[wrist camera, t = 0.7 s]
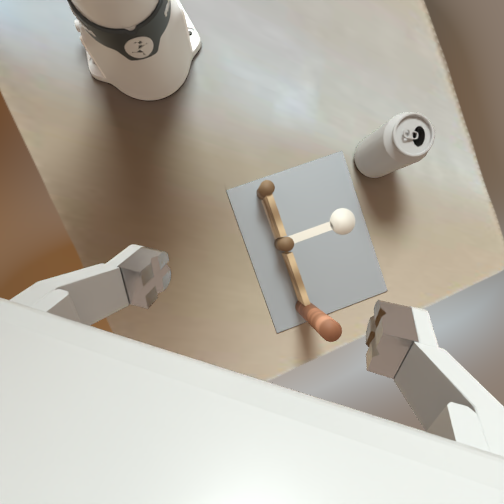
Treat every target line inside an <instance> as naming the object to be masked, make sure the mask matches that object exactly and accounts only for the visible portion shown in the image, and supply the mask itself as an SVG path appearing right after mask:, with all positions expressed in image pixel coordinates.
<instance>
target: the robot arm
mask: <svg viewBox="0 0 504 504" xmlns="http://www.w3.org/2000/svg"><path fill="white" fill-rule="evenodd" d="M67 1H68V3H69V6H70V8H71V10H72V12H73V14H74V15H75V16H76V18H77V19H78V20H75V21H74V23H75V26H76V29H77V30H78V32H81V36H80V40H81V42H82V44H83V45H84V47H85V48H86V54H87V60H88V65H89V70H90V72H91V74H92V76H93V77H94V78H96V79H98V80H100V81H104V82H107V83H111V84H112V85H114V86H115V87H117V88H118V89H119V90H120V91H122V92H123V93H125V94H126V95H128V96H131V97H133V98H136V99H140V100H158V99H162V98H165V97H167V96H169V95H171V94H172V93H174V92H175V91H176V90H178V89H179V88H180V86H181V85H182V84H183V83H184V81H185V79H186V77H187V75H188V73H189V69H190V65H191V61H192V59H193V57H194V56H195V55H196V53H197V52H198V51H199V49H200V47H201V39H200V36H199V34H198V33H197V31H196V29H195V27H194V26H193V24H192V22H191V20H190V19H189V17H188V15H187V13H186V12H185V10H184V8H183V6H182V5H181V3H180V1H179V0H67ZM189 34H192V36H189ZM168 262H169V257H168V254H167V253H166V252H165V251H161V250H157V249H153V248H149V247H144V246H140V245H136V244H132V245H130V246H128V247H127V248H126V249H124V250H123V251H122V252H120V253H119V254H118V255H116V256H115V257H114V258H112V259H111V260H110V261H108V262H107V263H106V264H103V263H101V264H97V265H94V266H90V267H87V268H84V269H80V270H77V271H73V272H70V273H67V274H63V275H59V276H56V277H52V278H49V279H45V280H42V281H38V282H36V283H35V284H33V285H32V286H30V287H29V288H27V289H26V290H24V291H23V292H21V293H20V294H18V295H17V296H15V297H13V298H12V299H10V300H6V299H3V298H0V504H504V407H503V406H502V405H501V404H500V403H499V402H498V401H497V400H496V399H495V398H494V397H493V396H492V395H491V394H490V393H489V392H488V391H487V390H486V389H485V388H484V387H483V386H482V385H481V384H480V383H479V382H478V381H477V380H475V379H474V378H473V377H472V376H471V375H470V374H469V373H468V372H467V371H466V370H465V369H464V368H463V367H462V366H461V365H460V364H459V363H458V362H457V361H456V360H455V359H454V358H453V357H452V356H451V355H450V354H449V353H448V352H447V351H446V350H445V349H442V348H439V346H438V342H437V339H436V336H435V333H434V329H433V326H432V322H431V320H430V316H429V312H428V311H427V310H425V309H420V308H415V307H408V306H404V305H399V304H395V303H390V302H385V301H381V300H378V301H377V302H376V304H375V307H374V316H372V317H371V318H370V320H369V323H368V326H367V331H366V345H367V346H368V347H369V348H368V351H367V353H366V363H367V371H370V372H373V373H376V374H380V375H383V376H386V377H389V378H392V379H394V382H395V383H396V385H397V386H398V388H399V390H400V391H401V392H402V394H403V396H404V397H405V399H406V401H407V402H408V404H409V405H410V407H411V409H412V410H413V412H414V413H415V415H416V417H417V418H418V420H419V421H420V423H421V425H422V426H423V428H424V429H425V431H426V432H424V431H422V430H418V429H415V428H412V427H409V426H406V425H402V424H399V423H396V422H393V421H390V420H387V419H383V418H380V417H377V416H374V415H371V414H368V413H364V412H361V411H358V410H355V409H351V408H348V407H345V406H342V405H339V404H336V403H333V402H330V401H326V400H323V399H320V398H317V397H314V396H311V395H307V394H304V393H301V392H298V391H295V390H292V389H288V388H285V387H282V386H279V385H276V384H272V383H269V382H266V381H263V380H260V379H257V378H254V377H251V376H247V375H244V374H241V373H238V372H235V371H232V370H228V369H225V368H222V367H219V366H216V365H212V364H209V363H206V362H203V361H200V360H197V359H193V358H190V357H187V356H184V355H181V354H178V353H174V352H171V351H168V350H165V349H162V348H159V347H155V346H152V345H149V344H146V343H143V342H140V341H136V340H133V339H130V338H127V337H124V336H121V335H117V334H114V333H111V332H108V331H105V330H102V329H98V328H95V327H92V326H90V325H92V324H94V323H95V322H98V321H100V320H101V319H103V318H105V317H107V316H109V315H111V314H113V313H115V312H117V311H119V310H121V309H123V308H125V307H127V306H129V304H131V305H135V306H139V307H143V308H147V309H148V308H149V307H150V306H151V305H152V304H153V303H154V302H155V300H156V299H157V298H158V293H160V292H162V291H164V290H165V289H166V288H167V287H168V285H169V282H170V280H171V270H170V268H169V267H168V266H167V263H168Z"/></svg>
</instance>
